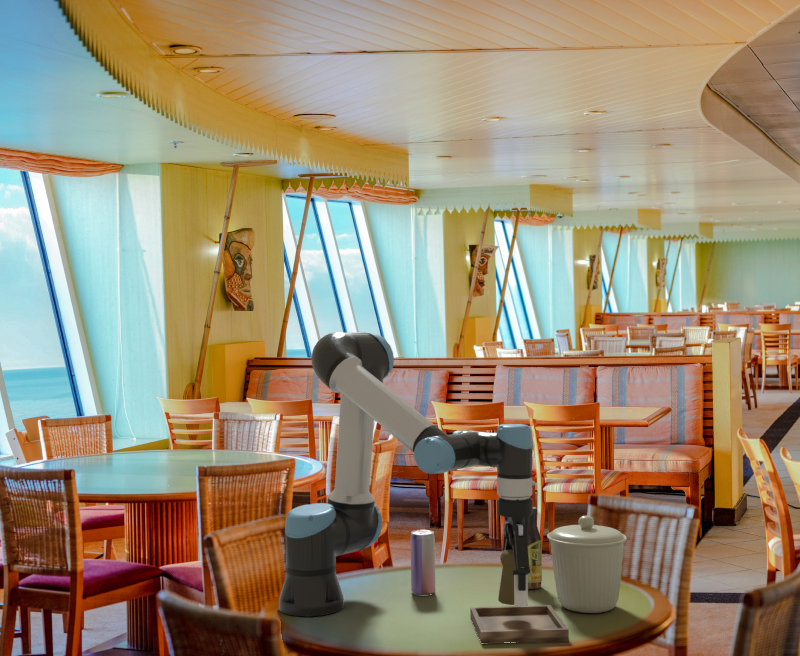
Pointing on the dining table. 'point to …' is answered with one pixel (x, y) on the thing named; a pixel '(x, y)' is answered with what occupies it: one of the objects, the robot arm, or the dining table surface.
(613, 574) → the canister
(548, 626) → the tray
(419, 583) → the beverage can
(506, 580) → the brown tapered upright piece
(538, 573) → the sauce bottle
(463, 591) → the dining table surface
